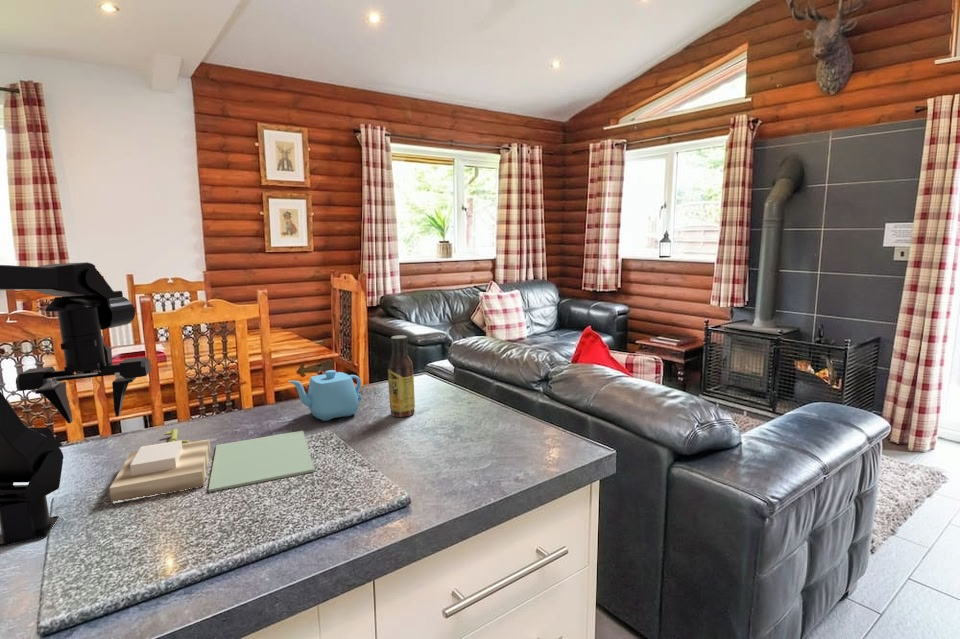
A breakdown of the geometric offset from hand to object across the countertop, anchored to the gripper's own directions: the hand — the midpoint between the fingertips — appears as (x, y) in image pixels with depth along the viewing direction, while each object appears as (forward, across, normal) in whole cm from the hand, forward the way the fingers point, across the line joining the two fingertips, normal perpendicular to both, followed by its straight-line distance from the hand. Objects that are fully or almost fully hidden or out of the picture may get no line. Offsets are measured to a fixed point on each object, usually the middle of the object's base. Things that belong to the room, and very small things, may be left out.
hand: (94, 419), depth 96 cm
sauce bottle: (+13, -60, -13) cm, 63 cm away
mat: (+13, -27, 0) cm, 30 cm away
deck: (+13, -10, 0) cm, 16 cm away
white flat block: (+10, -9, 0) cm, 13 cm away
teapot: (+13, -43, -22) cm, 50 cm away
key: (+14, -9, -19) cm, 25 cm away
